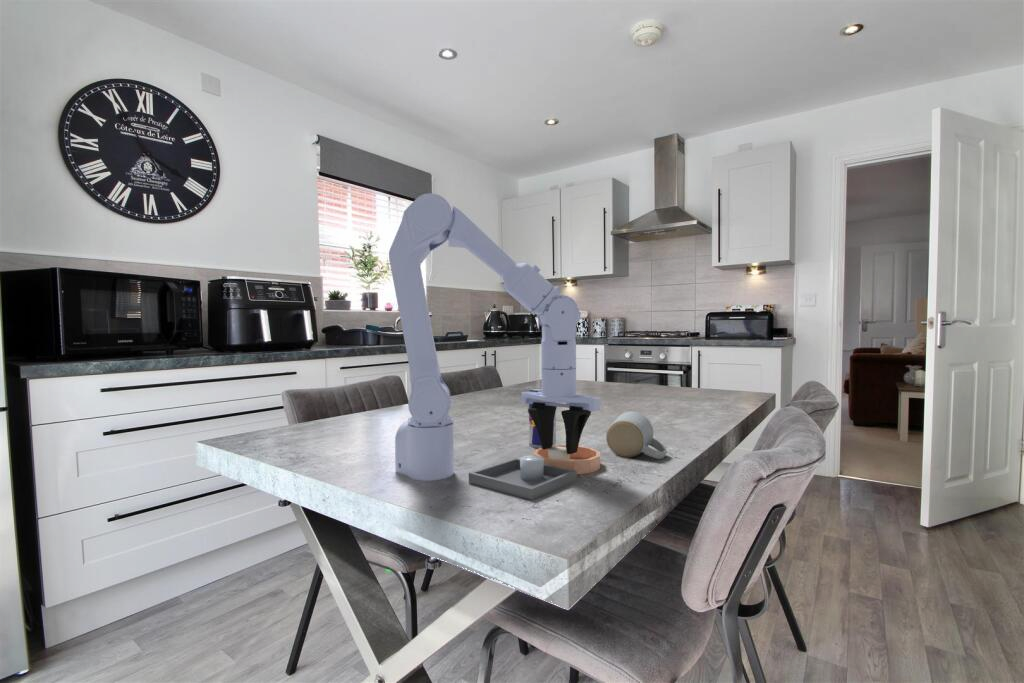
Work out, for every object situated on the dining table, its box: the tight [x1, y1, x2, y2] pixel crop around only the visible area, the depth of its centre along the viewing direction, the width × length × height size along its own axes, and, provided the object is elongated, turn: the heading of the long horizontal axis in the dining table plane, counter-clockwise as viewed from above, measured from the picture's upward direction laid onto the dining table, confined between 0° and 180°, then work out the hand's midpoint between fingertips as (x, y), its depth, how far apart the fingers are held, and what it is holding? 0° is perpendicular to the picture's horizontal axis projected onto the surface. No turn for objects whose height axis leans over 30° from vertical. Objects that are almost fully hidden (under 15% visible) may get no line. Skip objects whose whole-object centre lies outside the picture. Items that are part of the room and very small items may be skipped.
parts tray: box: [468, 457, 578, 501], centre depth 71 cm, size 12×11×2 cm
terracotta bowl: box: [533, 444, 601, 475], centre depth 80 cm, size 11×11×3 cm
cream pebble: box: [548, 447, 570, 460], centre depth 78 cm, size 4×4×3 cm
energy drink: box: [528, 387, 557, 449], centre depth 95 cm, size 5×5×12 cm
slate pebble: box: [519, 455, 544, 481], centre depth 73 cm, size 4×4×3 cm
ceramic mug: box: [606, 410, 668, 460], centre depth 89 cm, size 11×8×8 cm
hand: (559, 450), depth 78 cm, fingers open, 4 cm apart
